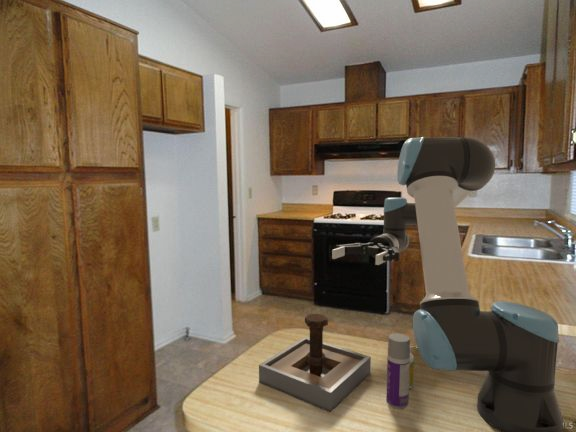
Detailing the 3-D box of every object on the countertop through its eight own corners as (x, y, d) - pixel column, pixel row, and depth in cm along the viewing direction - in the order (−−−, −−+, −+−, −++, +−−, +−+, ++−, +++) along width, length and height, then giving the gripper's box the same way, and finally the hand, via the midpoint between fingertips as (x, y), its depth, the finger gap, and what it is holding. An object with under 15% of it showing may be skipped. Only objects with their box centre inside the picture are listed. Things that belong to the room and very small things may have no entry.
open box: (370, 373, 96) (370, 356, 96) (330, 412, 81) (330, 392, 80) (305, 352, 108) (305, 336, 108) (259, 382, 92) (258, 364, 92)
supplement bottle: (414, 391, 89) (415, 351, 88) (390, 388, 90) (391, 349, 89) (411, 379, 94) (412, 341, 93) (389, 376, 95) (390, 339, 94)
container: (381, 399, 85) (383, 335, 84) (397, 394, 87) (399, 331, 86) (396, 411, 81) (398, 343, 79) (412, 405, 83) (415, 339, 82)
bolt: (301, 378, 93) (301, 319, 91) (307, 368, 98) (307, 312, 96) (325, 382, 91) (325, 322, 89) (329, 372, 96) (330, 315, 94)
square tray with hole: (364, 371, 96) (364, 360, 96) (328, 405, 82) (328, 392, 82) (306, 352, 107) (306, 342, 106) (266, 379, 93) (265, 367, 92)
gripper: (421, 262, 118) (396, 276, 101) (348, 253, 133) (316, 264, 115) (422, 238, 117) (397, 248, 100) (349, 232, 132) (316, 239, 115)
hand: (354, 257), depth 108 cm, fingers open, 13 cm apart
